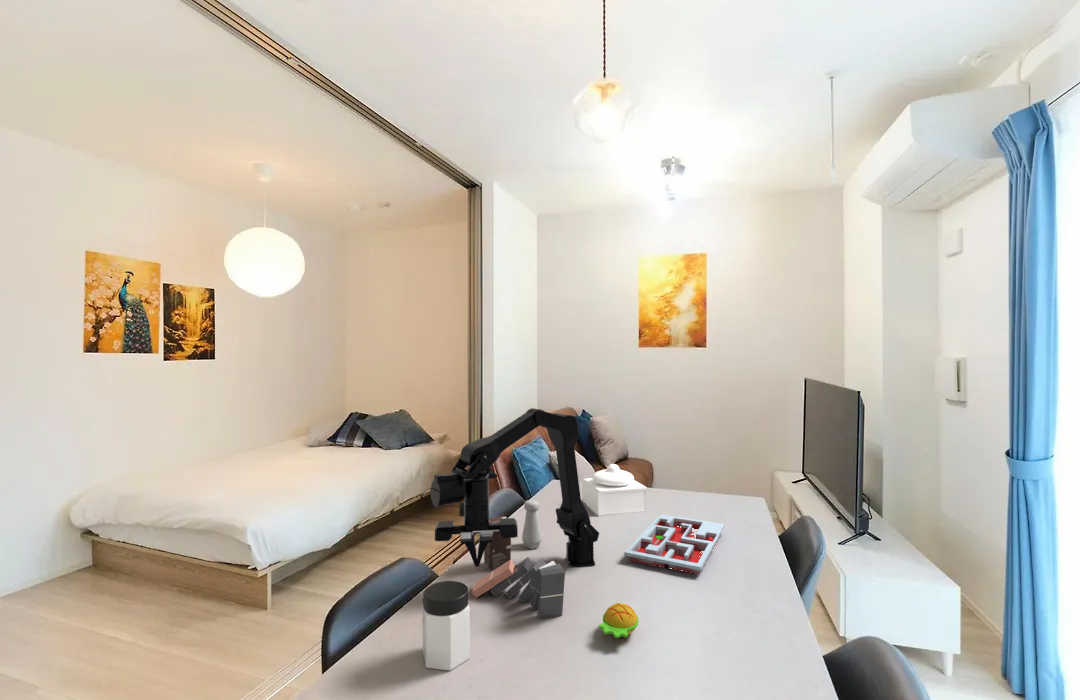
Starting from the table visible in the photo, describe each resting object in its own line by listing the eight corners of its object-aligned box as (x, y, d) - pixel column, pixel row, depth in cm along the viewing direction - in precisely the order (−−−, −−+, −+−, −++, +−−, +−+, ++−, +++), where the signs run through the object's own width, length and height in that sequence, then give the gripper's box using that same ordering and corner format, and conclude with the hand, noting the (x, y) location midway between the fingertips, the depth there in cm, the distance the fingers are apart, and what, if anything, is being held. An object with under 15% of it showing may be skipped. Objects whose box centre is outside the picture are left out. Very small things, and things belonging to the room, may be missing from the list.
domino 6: (562, 615, 104) (564, 572, 102) (539, 619, 102) (541, 575, 101) (559, 610, 105) (562, 568, 104) (537, 613, 104) (539, 570, 102)
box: (491, 571, 125) (491, 524, 125) (483, 565, 129) (483, 519, 129) (512, 566, 128) (512, 519, 129) (503, 560, 132) (503, 515, 132)
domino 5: (552, 604, 109) (563, 569, 105) (533, 610, 106) (543, 574, 103) (549, 598, 110) (559, 563, 107) (529, 604, 107) (539, 568, 104)
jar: (450, 637, 96) (450, 575, 96) (479, 653, 91) (479, 588, 91) (412, 659, 89) (411, 592, 89) (440, 678, 84) (440, 607, 84)
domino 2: (500, 586, 117) (532, 562, 116) (494, 597, 112) (528, 571, 111) (495, 581, 117) (527, 556, 116) (490, 591, 112) (523, 565, 111)
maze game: (701, 580, 120) (701, 567, 120) (624, 564, 130) (624, 552, 130) (724, 534, 151) (724, 524, 151) (661, 524, 161) (661, 514, 161)
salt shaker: (544, 543, 143) (544, 499, 144) (538, 551, 138) (538, 504, 138) (526, 541, 145) (525, 497, 145) (518, 548, 140) (518, 502, 140)
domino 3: (520, 589, 115) (547, 564, 113) (509, 599, 111) (537, 573, 108) (515, 583, 116) (542, 558, 113) (505, 593, 111) (532, 567, 109)
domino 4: (537, 595, 113) (557, 566, 109) (523, 603, 109) (543, 574, 105) (533, 589, 114) (553, 560, 110) (518, 597, 110) (538, 568, 106)
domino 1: (479, 588, 117) (514, 565, 116) (475, 598, 112) (512, 574, 111) (475, 582, 117) (510, 559, 116) (471, 592, 112) (508, 568, 111)
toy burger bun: (643, 627, 99) (643, 600, 99) (628, 654, 90) (628, 625, 90) (610, 619, 102) (610, 593, 102) (593, 644, 93) (592, 615, 93)
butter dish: (582, 502, 185) (582, 459, 185) (627, 498, 189) (626, 457, 189) (598, 517, 167) (597, 470, 168) (647, 513, 171) (646, 467, 172)
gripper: (514, 488, 123) (515, 550, 123) (439, 490, 122) (439, 554, 121) (517, 501, 112) (518, 569, 112) (434, 504, 110) (434, 574, 110)
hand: (477, 566), depth 114 cm, fingers closed
